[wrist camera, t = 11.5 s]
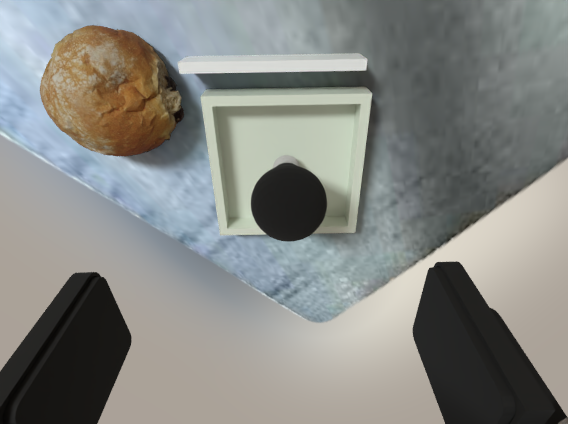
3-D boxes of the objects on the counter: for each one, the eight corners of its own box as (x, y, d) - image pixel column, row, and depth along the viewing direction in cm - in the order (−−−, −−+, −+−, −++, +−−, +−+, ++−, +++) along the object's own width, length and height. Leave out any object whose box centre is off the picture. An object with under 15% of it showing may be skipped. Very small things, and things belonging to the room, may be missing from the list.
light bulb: (285, 200, 34) (289, 269, 26) (242, 162, 32) (230, 226, 24) (329, 162, 32) (349, 225, 24) (286, 119, 30) (291, 173, 21)
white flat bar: (359, 53, 28) (367, 58, 25) (358, 64, 28) (366, 70, 25) (187, 56, 27) (177, 62, 25) (188, 66, 28) (179, 73, 25)
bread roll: (121, 9, 29) (24, -21, 22) (212, 79, 28) (141, 73, 21) (90, 109, 33) (1, 111, 26) (167, 173, 32) (96, 193, 25)
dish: (365, 86, 29) (372, 93, 27) (350, 219, 36) (355, 232, 34) (206, 89, 29) (200, 96, 27) (223, 221, 36) (220, 235, 34)
